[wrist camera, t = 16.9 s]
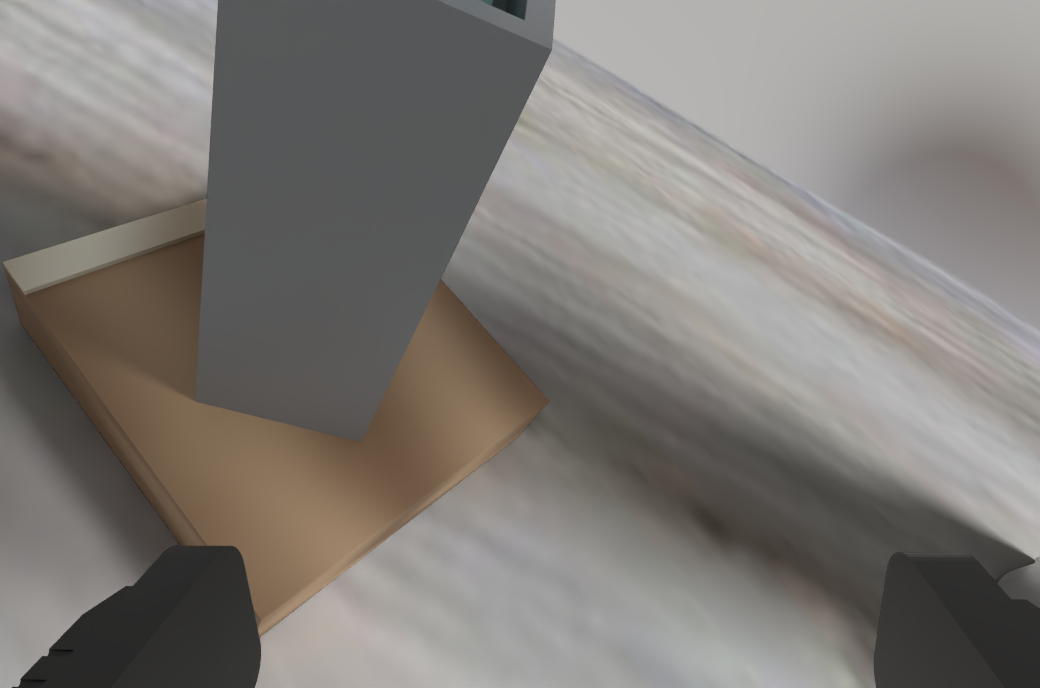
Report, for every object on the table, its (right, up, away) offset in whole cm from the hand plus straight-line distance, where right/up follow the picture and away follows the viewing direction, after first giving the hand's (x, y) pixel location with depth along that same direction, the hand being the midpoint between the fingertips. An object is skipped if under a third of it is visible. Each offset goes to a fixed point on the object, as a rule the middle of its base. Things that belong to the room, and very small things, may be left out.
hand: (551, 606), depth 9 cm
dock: (-9, +2, +17) cm, 19 cm away
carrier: (-8, +3, +14) cm, 17 cm away
